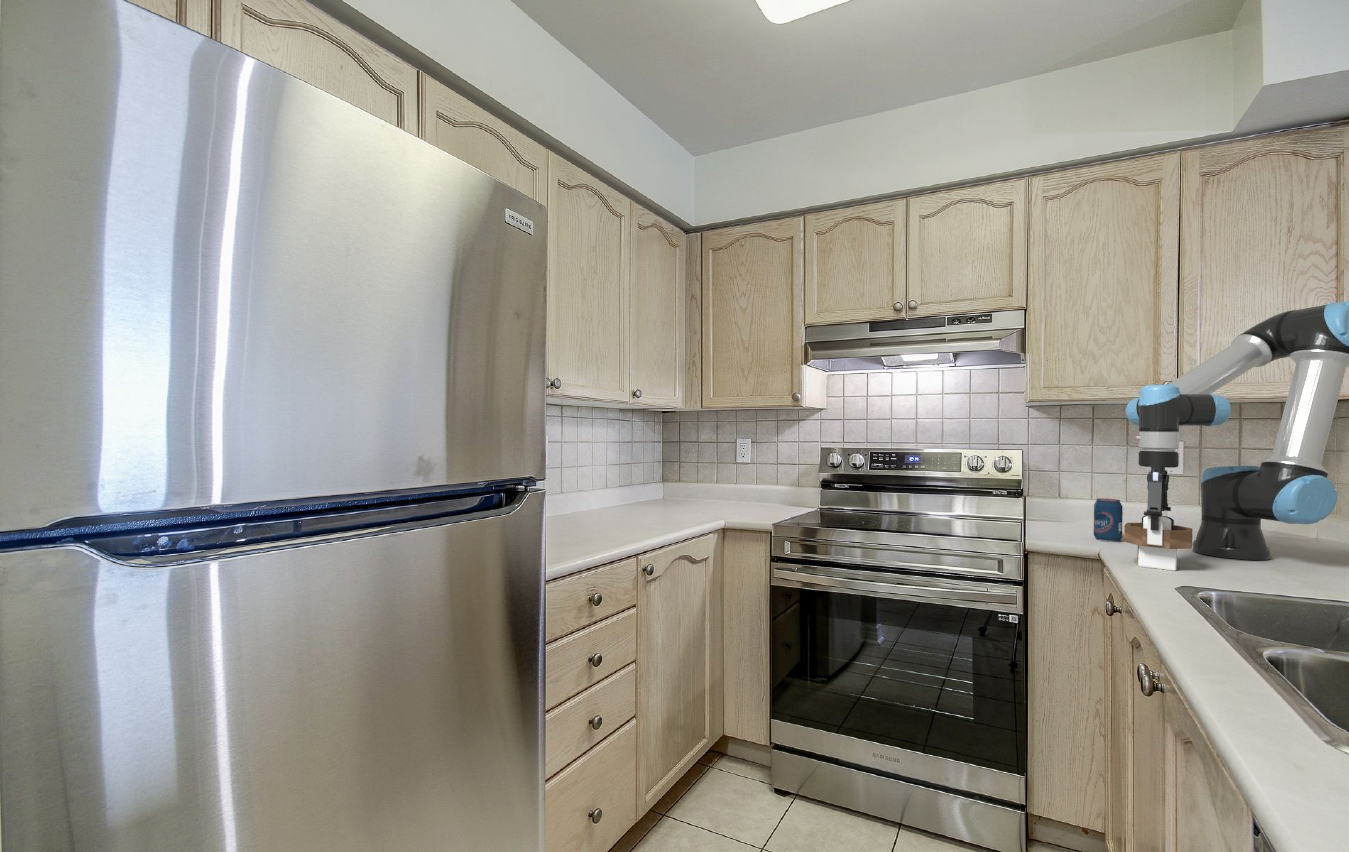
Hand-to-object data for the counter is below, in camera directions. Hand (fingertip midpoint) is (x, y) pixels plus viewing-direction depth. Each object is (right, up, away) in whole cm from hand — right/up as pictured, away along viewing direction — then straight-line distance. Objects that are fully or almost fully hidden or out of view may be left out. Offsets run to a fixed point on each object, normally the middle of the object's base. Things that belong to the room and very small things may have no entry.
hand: (1157, 541), depth 148 cm
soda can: (+13, -7, +36) cm, 39 cm away
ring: (0, -1, 0) cm, 1 cm away
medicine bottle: (0, -6, 0) cm, 6 cm away
